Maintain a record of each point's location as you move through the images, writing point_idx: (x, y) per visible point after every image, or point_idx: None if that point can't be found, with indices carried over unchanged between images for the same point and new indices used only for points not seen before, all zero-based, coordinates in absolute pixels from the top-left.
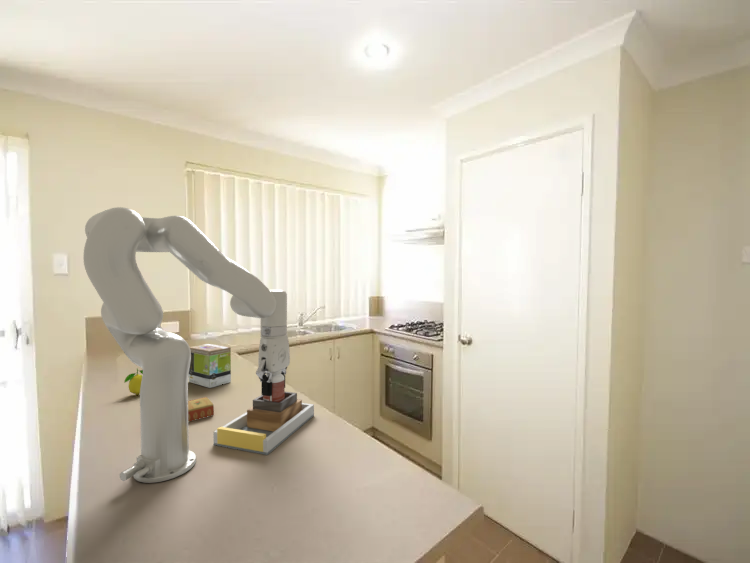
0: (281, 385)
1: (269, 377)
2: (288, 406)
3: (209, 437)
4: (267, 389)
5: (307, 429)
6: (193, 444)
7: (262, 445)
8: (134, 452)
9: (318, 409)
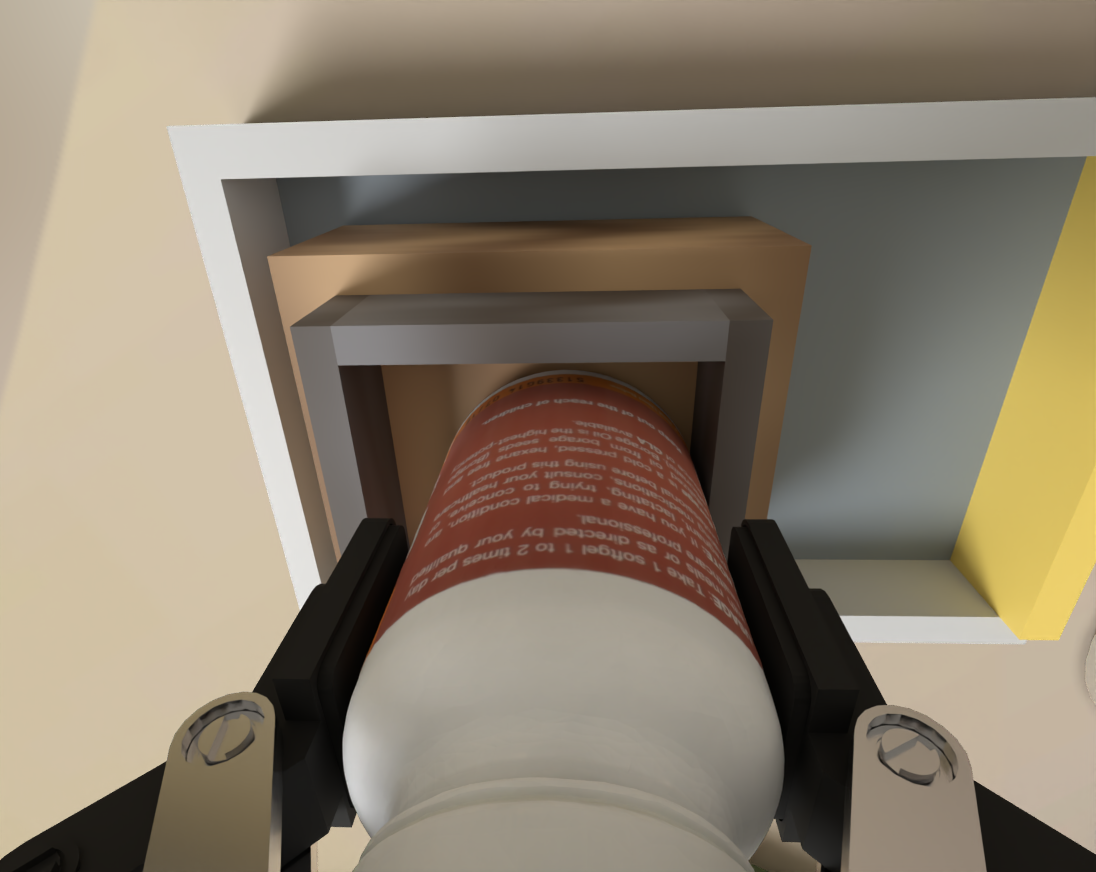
0: (600, 519)
1: (965, 830)
2: (548, 292)
3: (859, 652)
4: (841, 626)
5: (553, 3)
6: (959, 672)
7: None
8: (1057, 828)
9: (88, 165)
